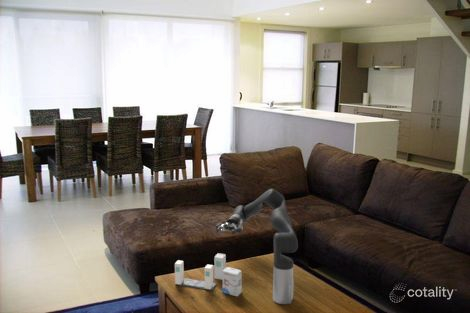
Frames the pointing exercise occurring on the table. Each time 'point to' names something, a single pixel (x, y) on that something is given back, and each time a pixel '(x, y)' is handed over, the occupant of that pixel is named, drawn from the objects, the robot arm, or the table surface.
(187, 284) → the rail
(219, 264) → the white tall block
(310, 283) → the table surface
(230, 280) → the ink box
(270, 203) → the robot arm
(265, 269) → the table surface
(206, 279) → the mounted modules
